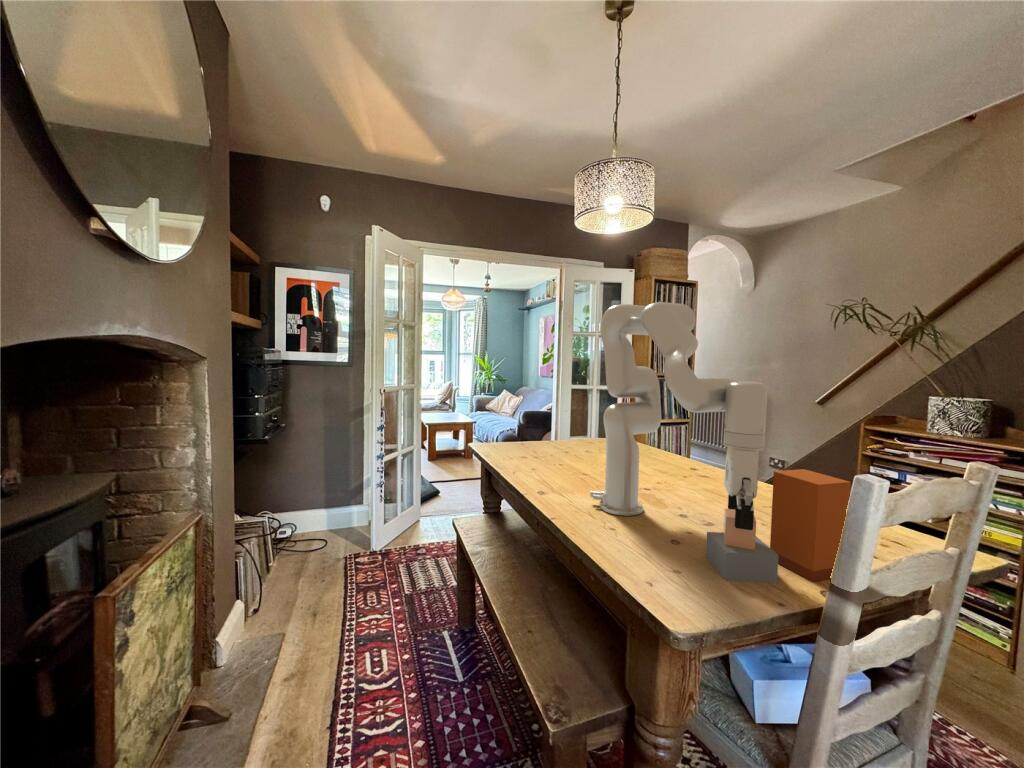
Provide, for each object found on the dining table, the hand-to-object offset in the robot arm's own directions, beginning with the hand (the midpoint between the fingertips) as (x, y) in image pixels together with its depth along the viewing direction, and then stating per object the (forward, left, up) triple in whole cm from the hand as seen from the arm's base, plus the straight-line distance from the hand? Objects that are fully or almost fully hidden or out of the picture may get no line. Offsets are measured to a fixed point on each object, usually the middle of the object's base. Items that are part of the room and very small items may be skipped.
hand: (739, 519), depth 87 cm
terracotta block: (0, 0, -5) cm, 5 cm away
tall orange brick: (+14, +6, -11) cm, 19 cm away
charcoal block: (0, 0, -11) cm, 11 cm away
